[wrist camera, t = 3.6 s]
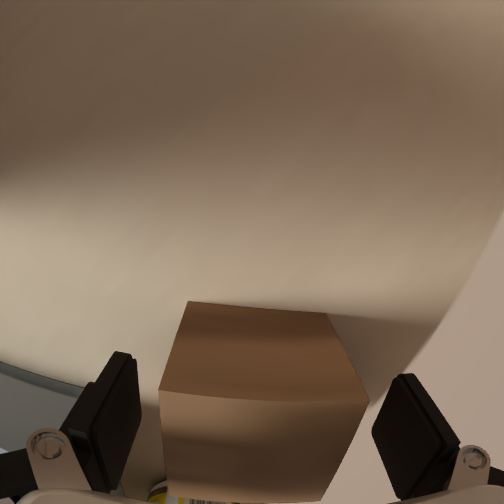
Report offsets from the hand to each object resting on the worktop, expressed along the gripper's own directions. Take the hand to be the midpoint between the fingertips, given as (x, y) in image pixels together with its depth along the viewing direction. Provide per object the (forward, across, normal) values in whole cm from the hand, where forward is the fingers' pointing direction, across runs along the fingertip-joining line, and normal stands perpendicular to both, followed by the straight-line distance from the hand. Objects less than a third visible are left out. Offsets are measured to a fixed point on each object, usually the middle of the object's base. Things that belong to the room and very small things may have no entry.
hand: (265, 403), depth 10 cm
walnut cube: (+2, +1, 0) cm, 2 cm away
